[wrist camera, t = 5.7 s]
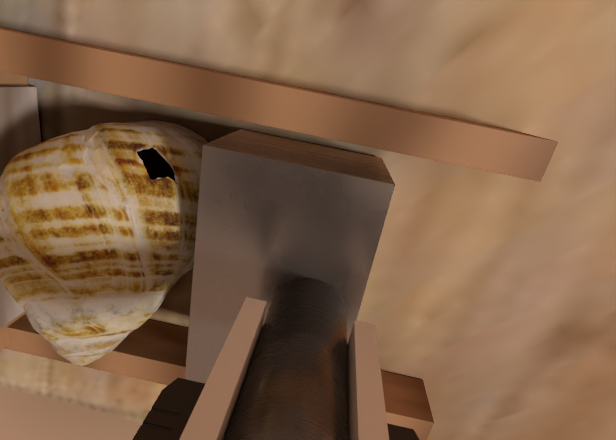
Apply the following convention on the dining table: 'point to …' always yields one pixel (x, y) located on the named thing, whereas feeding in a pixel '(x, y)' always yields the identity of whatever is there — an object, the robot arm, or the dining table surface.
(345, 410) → the grey plunger
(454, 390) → the dining table surface
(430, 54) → the dining table surface
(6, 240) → the seashell
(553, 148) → the press frame
